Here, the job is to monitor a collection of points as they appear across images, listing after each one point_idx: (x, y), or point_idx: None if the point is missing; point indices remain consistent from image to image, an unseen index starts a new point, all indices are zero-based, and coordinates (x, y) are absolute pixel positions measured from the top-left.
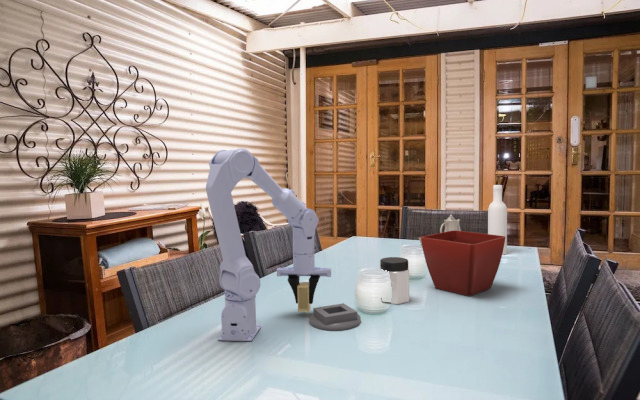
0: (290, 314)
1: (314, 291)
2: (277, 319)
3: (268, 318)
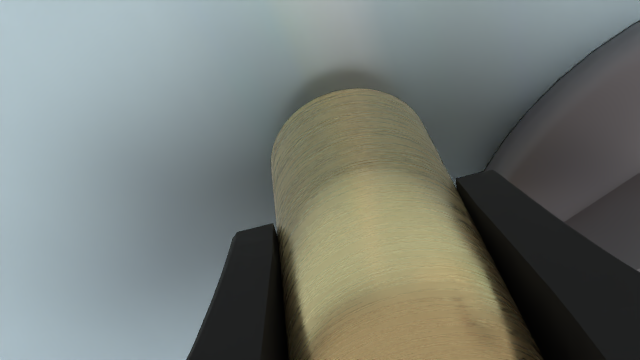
0: (167, 188)
1: (614, 271)
2: (123, 334)
3: (15, 342)
